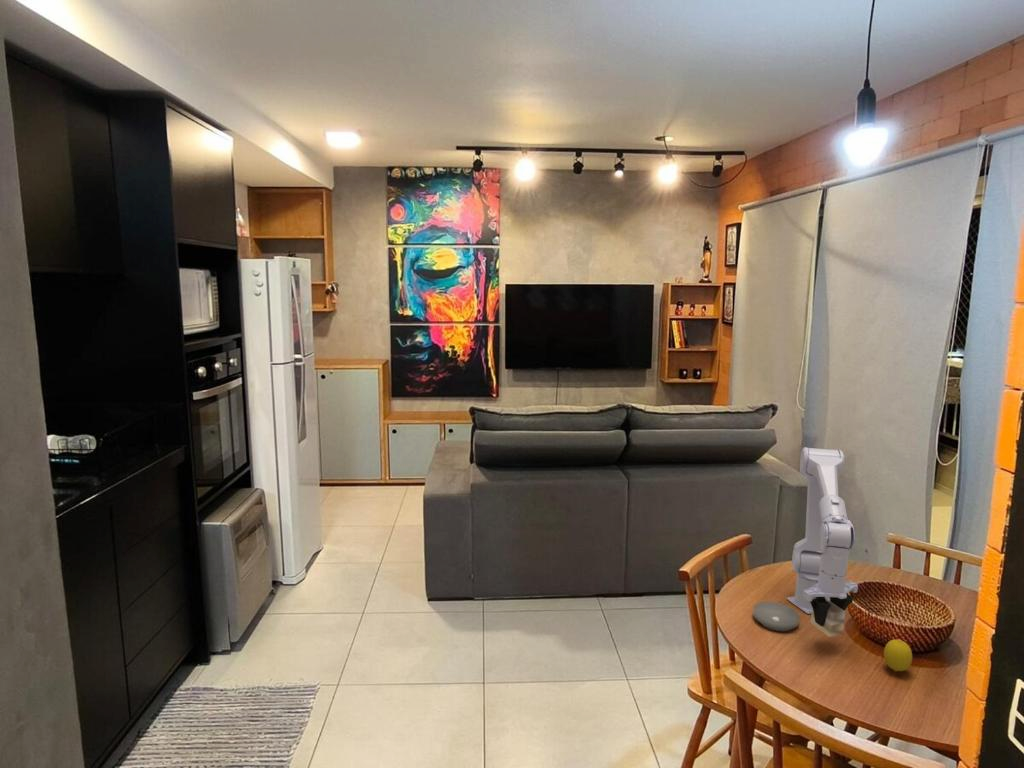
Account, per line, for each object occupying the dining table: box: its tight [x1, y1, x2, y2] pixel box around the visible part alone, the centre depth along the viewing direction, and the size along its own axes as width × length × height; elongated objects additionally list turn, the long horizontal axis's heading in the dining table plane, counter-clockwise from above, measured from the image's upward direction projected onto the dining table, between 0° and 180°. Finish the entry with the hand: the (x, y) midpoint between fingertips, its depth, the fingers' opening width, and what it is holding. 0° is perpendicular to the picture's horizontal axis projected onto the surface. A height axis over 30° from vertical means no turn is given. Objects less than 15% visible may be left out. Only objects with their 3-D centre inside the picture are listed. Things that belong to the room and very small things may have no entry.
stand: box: [752, 601, 800, 632], centre depth 162 cm, size 11×11×2 cm
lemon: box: [883, 638, 913, 673], centre depth 142 cm, size 6×6×8 cm
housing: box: [810, 599, 846, 638], centre depth 150 cm, size 4×6×6 cm, turn 18°
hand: (827, 622), depth 150 cm, fingers closed on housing, 4 cm apart
